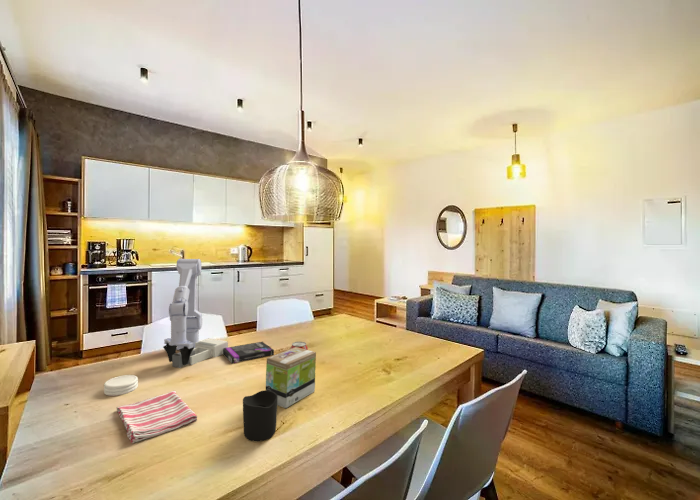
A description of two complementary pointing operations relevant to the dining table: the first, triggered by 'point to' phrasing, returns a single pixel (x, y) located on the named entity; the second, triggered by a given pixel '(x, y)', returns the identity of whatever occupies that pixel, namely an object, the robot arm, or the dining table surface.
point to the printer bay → (207, 349)
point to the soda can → (299, 345)
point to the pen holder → (260, 415)
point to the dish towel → (155, 416)
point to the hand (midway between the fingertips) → (178, 362)
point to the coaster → (120, 385)
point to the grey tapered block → (179, 359)
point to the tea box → (291, 375)
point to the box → (247, 352)
